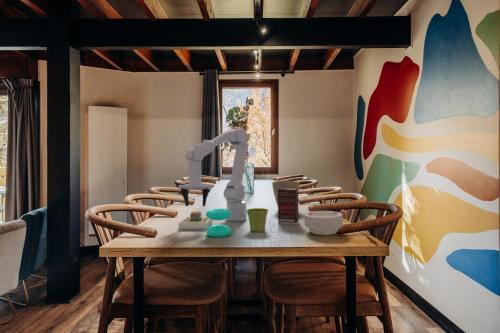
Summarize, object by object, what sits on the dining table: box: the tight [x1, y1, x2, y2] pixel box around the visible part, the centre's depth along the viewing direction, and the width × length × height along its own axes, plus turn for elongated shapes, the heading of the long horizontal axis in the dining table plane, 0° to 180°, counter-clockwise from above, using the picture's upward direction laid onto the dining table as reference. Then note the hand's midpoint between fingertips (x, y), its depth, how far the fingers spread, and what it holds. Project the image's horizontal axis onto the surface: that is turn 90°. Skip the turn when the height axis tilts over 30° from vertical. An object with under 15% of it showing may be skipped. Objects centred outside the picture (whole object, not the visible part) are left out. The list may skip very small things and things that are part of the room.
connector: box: [189, 210, 202, 221], centre depth 156 cm, size 4×4×6 cm
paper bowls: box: [304, 210, 344, 236], centre depth 142 cm, size 15×15×8 cm
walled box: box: [178, 216, 213, 231], centre depth 156 cm, size 12×12×3 cm
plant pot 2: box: [271, 180, 300, 207], centre depth 192 cm, size 15×15×16 cm
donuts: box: [205, 208, 232, 238], centre depth 141 cm, size 10×10×10 cm
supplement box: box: [277, 188, 300, 225], centre depth 161 cm, size 9×5×16 cm, turn 65°
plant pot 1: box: [246, 207, 269, 233], centre depth 147 cm, size 9×9×9 cm
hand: (195, 205), depth 156 cm, fingers open, 7 cm apart
